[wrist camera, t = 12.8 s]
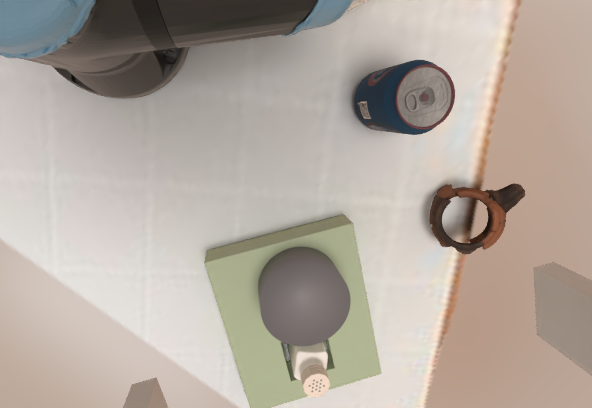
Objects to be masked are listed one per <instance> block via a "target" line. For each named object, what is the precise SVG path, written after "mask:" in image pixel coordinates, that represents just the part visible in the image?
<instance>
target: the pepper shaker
mask: <svg viewBox="0 0 592 408" xmlns="http://www.w3.org/2000/svg"><path fill="white" fill-rule="evenodd" d="M288 350H289V355H290V360H291V365H292V369H293V374H294V377H295V378H296V379H298V380H301V381H302V386H303V390H304V392H305V393H306V394H307V395H308V396H311V397H319V396H322V395H323V394H325V393H326V392H327V391H328V389H329V387H330V381H329V377H328V374H327V371H326V368H327V360H328V354H327V351H326V349H325V346H324V343H323V342H321V343H318V344H315V345H310V346H293V345H289V346H288Z"/></svg>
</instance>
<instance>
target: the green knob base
mask: <svg viewBox="0 0 592 408" xmlns="http://www.w3.org/2000/svg"><path fill="white" fill-rule="evenodd" d="M204 263H205V266H206V269H207V273H208V276H209V279H210V282H211V285H212V288H213V292H214V295H215V298H216V301H217V304H218V307H219V311H220V314H221V317H222V320H223V323H224V326H225V330H226V333H227V336H228V339H229V342H230V346H231V349H232V352H233V355H234V358H235V361H236V365H237V368H238V371H239V374H240V377H241V380H242V384H243V387H244V390H245V393H246V396H247V399H248V403H249V406H250V408H271V407H274V406H277V405H281V404H284V403H287V402H290V401H294V400H297V399H300V398H303V397H307V396H308V395H307V394H306V393H305V392H304V390H303V386H302V381H301V380H298V379H296V378H295V377H294V374H293V369H292V365H291V361H288V362H287V359H286V356H285V352H284V348H283V345H282V342H283V343H286V344H289V345H293V346H310V345H315V344H318V343H321V342H323V341H325V340H326V344H327V348H328V350H326V351H327V354H328V360H327V368H326V371H327V374H328V377H329V381H330V387H329V389H328V390H330V389H333V388H336V387H339V386H343V385H346V384H349V383H352V382H356V381H359V380H362V379H365V378H369V377H372V376H375V375H378V374H381V369H380V364H379V358H378V353H377V348H376V343H375V337H374V332H373V327H372V322H371V316H370V311H369V306H368V301H367V295H366V290H365V285H364V280H363V275H362V269H361V264H360V259H359V254H358V248H357V243H356V238H355V233H354V227H353V223H352V222H351V221H350V220H349V219H348V218H347V217H346V216H345V215H340V216H336V217H332V218H328V219H325V220H321V221H317V222H313V223H309V224H306V225H302V226H298V227H294V228H290V229H287V230H283V231H279V232H275V233H271V234H268V235H264V236H260V237H256V238H252V239H249V240H245V241H241V242H237V243H233V244H230V245H226V246H222V247H218V248H214V249H211V250H207V253H206V258H205V262H204Z"/></svg>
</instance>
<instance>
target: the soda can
mask: <svg viewBox="0 0 592 408" xmlns="http://www.w3.org/2000/svg"><path fill="white" fill-rule="evenodd" d="M454 99H455V89H454V85H453V82H452V80H451V78H450V76H449V75H448V74H447V72H446V71H444V70H443V69H442V68H440V67H438V66H437V65H435V64H433V63H431V62H429V61H425V60H414V61H410V62H407V63H403V64H400V65H396V66H393V67H389V68H386V69H382V70H379V71H376V72H373V73H371V74H369V75H368V76H367V77H365V78H364V79H363V80H362V82H361V83H360V85H359V86H358V88H357V91H356V94H355V110H356V113H357V115H358V117H359V119H360V120H361V122H362V123H363V124H365V125H366V126H367V127H369V128H371V129H374V130H379V131H387V132H395V133H403V134H411V135H417V134H423V133H426V132H428V131H430V130H432V129H433V128H435V127H436V126H437V125H439V124H440V123H441V122H443V121H444V120H445V119H446V117H447V116H448V115H449V113H450V112H451V110H452V107H453V104H454Z"/></svg>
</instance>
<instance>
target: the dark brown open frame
mask: <svg viewBox="0 0 592 408" xmlns="http://www.w3.org/2000/svg"><path fill="white" fill-rule="evenodd" d="M437 194H438V195H436V196H435V197H434V200H433V202H432V206H431V209H430V224H432V231H433V233H434V235H435V236H436V237H437V239H438V241H439V242H440V244H441V246H442V247H450V246H452V247H454V248H455V249H456V250H457V251H458V252H461V253H462V254H470V253H471V252H473V251H475V250H476V249H477V248H480V247H482V246H483V249H484V250H485V249H487V248H489V247H490V246H492V245H493V244H494V243H495V242H496V241H497V240H498V239H499V237H500V236H501V234H502V232H503V230H504V227H505V222H506V219H505V218H506V213H507V212H508V211H509V210H510V209H511V208H512V207H514V206H515V205H516V204H517V203H518V202H519V201H520V200H521V199H522V198H523V197H524V196H525V190H524V189H523V188H522V186H521V185H519V184H511V185H509V186H507V187H504V188H503V189H500V190H497V191H493V190H486V191H481V190H478V189H473V188H466V187H462V188H455V189H453V188H452V187H451V185H447V186H445V187H443V188H442V189H440V190H439V191H438V192H437ZM456 196H459V197H460V198H462V197H472V198H475V199H478V200H480V201H482V202H483V203H484V204H485V205H486V206H487V211H488V223H487V226H486V228H485V230H484V231H483V232H482V233H481V234H480V235H478V236H477V237H475V238H473V239H470V243H459V242H456V241H454V240H452V239H451V238H450V237H449V236H448V235H447V234H446V233H445V231H444V229H443V226H442V215H443V212H444V210H445V208H446V206H447V205H448V204H449V203H450V202H451V201H450V200H449V199H451V198H453V197H456Z"/></svg>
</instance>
